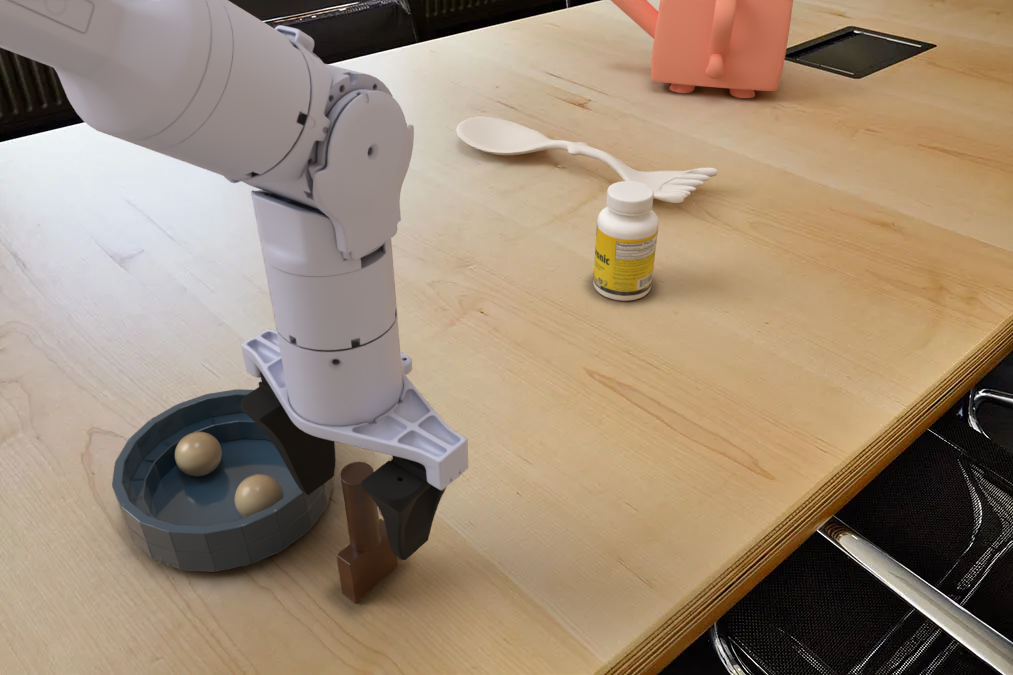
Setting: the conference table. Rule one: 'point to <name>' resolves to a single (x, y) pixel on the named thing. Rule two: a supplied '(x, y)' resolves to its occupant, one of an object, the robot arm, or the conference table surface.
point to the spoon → (522, 140)
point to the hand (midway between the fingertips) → (362, 514)
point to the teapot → (715, 42)
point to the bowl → (208, 490)
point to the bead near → (257, 494)
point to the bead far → (198, 454)
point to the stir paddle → (362, 537)
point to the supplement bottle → (626, 242)
